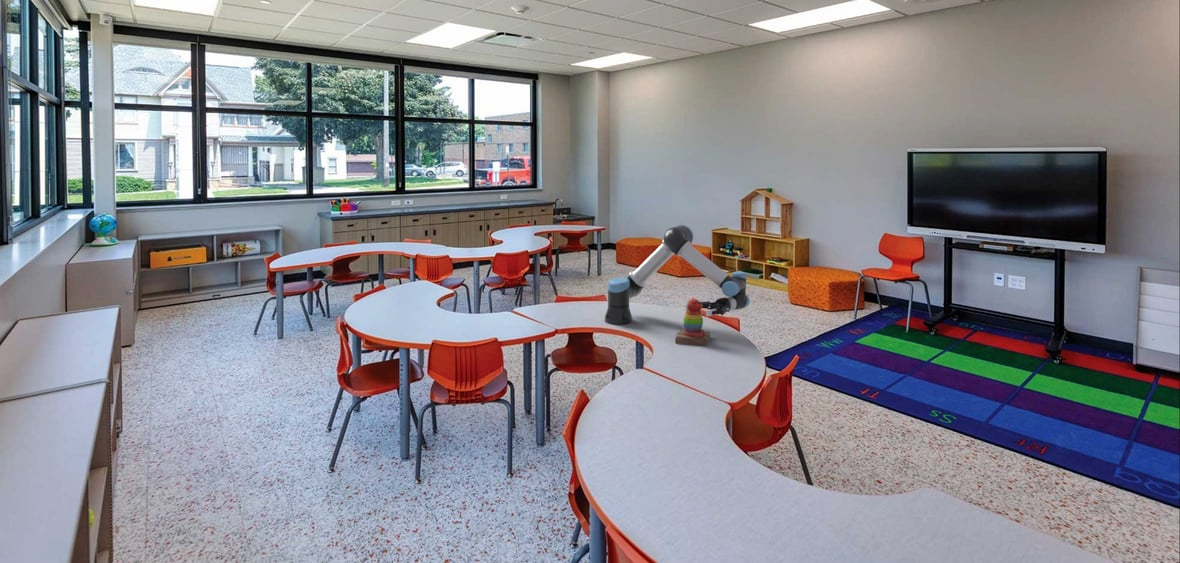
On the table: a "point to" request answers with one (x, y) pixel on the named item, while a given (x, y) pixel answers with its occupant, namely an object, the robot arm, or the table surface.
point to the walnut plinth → (692, 338)
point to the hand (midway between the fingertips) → (696, 310)
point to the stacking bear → (693, 319)
